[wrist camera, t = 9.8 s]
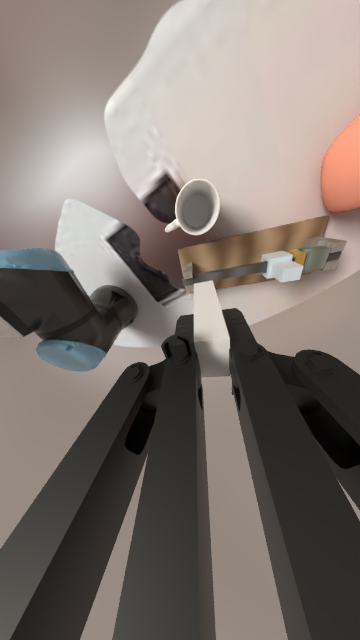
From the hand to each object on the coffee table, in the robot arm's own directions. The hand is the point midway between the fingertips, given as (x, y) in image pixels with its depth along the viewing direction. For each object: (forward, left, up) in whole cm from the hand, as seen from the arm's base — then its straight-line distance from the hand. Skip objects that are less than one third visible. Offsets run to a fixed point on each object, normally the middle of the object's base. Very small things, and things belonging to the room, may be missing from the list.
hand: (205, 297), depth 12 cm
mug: (-1, +6, -29) cm, 29 cm away
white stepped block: (+15, -6, -23) cm, 29 cm away
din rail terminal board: (+11, -6, -28) cm, 31 cm away
